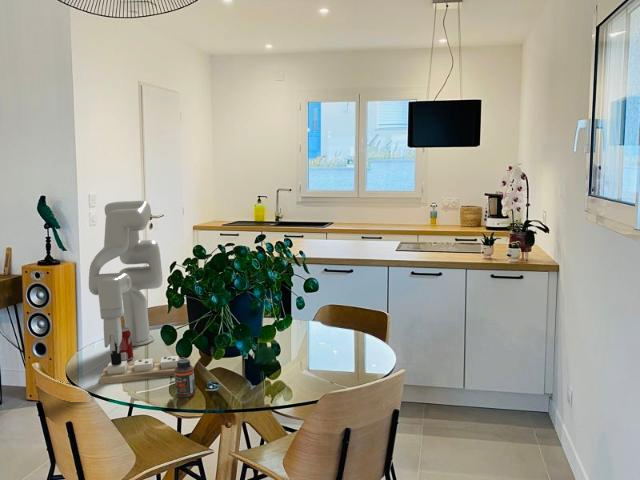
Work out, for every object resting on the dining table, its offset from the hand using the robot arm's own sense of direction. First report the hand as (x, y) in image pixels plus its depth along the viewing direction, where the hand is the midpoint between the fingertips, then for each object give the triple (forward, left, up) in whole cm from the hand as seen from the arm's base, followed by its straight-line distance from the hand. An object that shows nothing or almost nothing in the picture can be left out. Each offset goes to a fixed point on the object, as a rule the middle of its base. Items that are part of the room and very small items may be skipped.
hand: (116, 363), depth 215 cm
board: (0, +9, -5) cm, 10 cm away
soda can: (-18, 0, -5) cm, 19 cm away
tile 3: (0, +18, -4) cm, 19 cm away
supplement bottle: (+26, +24, -5) cm, 36 cm away
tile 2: (0, +9, -4) cm, 10 cm away
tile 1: (0, 0, -4) cm, 4 cm away
